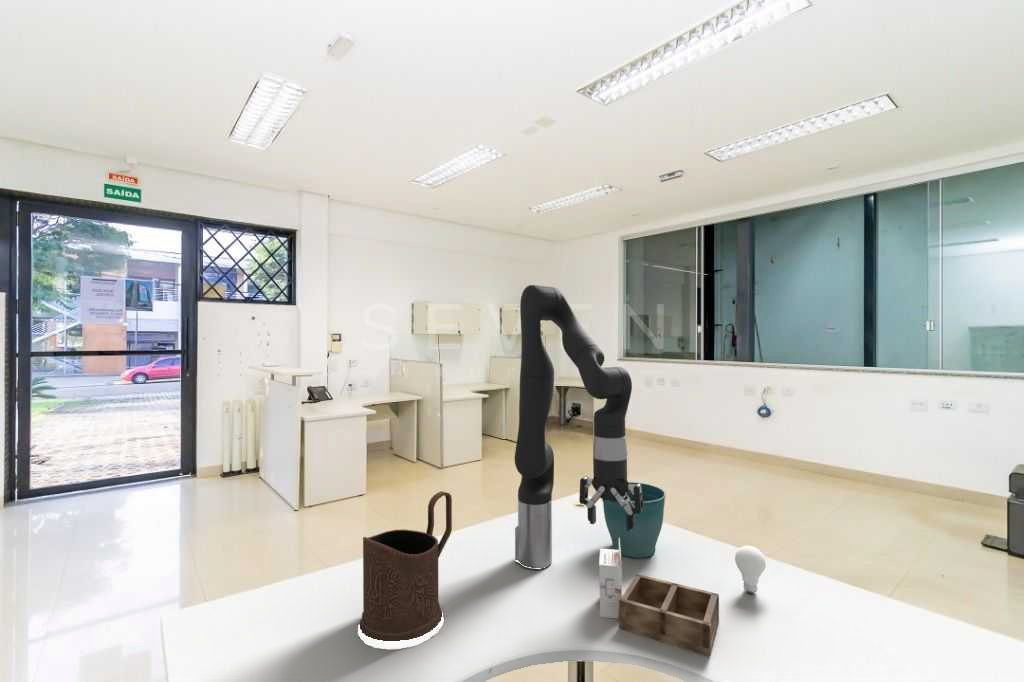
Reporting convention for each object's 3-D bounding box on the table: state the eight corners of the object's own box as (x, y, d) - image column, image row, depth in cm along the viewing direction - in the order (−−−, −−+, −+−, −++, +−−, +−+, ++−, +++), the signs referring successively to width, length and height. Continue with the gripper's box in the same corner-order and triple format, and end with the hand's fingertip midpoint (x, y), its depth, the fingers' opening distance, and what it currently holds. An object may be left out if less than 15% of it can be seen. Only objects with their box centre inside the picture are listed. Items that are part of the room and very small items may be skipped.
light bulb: (763, 588, 116) (763, 543, 116) (768, 602, 110) (768, 554, 110) (733, 583, 118) (733, 539, 118) (736, 597, 112) (736, 550, 112)
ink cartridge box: (599, 596, 113) (599, 534, 113) (621, 599, 112) (620, 536, 112) (598, 617, 104) (598, 550, 104) (622, 620, 103) (621, 552, 103)
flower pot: (600, 560, 131) (599, 499, 131) (602, 534, 148) (602, 479, 148) (668, 567, 127) (668, 503, 127) (662, 539, 144) (662, 483, 144)
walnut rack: (618, 628, 100) (618, 600, 100) (635, 598, 112) (635, 573, 112) (710, 657, 91) (710, 625, 91) (718, 621, 102) (718, 594, 102)
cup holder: (338, 627, 101) (337, 510, 101) (423, 581, 120) (423, 482, 120) (395, 663, 90) (394, 531, 90) (479, 606, 109) (478, 497, 109)
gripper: (574, 455, 108) (575, 526, 108) (636, 462, 101) (637, 538, 101) (586, 448, 115) (587, 515, 115) (645, 455, 108) (646, 526, 108)
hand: (611, 526), depth 108 cm, fingers open, 8 cm apart
